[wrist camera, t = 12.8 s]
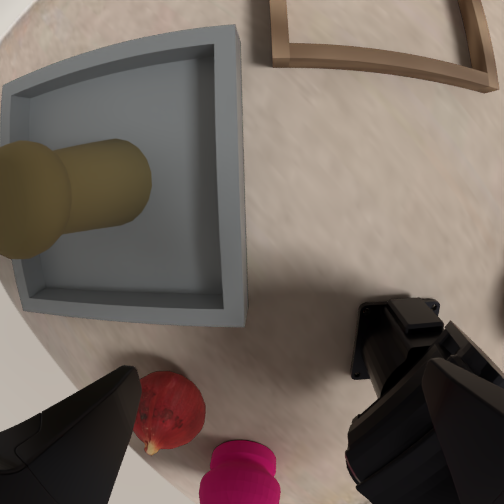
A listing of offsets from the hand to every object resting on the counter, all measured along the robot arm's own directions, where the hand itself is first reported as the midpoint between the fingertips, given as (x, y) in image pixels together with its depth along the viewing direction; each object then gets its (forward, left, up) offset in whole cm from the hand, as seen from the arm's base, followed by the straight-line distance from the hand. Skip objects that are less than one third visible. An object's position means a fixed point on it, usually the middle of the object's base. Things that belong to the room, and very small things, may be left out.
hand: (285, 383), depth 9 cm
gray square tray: (+5, +11, -13) cm, 18 cm away
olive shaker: (+5, +11, -13) cm, 18 cm away
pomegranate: (-11, +8, -13) cm, 19 cm away
